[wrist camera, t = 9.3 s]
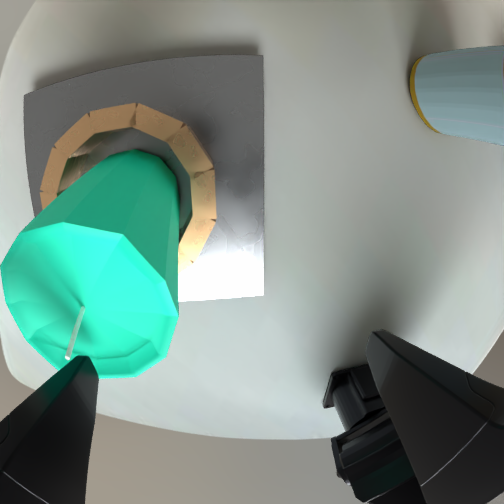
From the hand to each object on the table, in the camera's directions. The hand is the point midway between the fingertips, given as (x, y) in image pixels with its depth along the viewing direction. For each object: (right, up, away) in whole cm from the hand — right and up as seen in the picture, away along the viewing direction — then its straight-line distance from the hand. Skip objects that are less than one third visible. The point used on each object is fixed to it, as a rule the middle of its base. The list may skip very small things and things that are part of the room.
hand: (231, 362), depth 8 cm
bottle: (+16, +17, +9) cm, 25 cm away
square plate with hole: (-7, +8, +9) cm, 14 cm away
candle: (-7, +7, +8) cm, 12 cm away
